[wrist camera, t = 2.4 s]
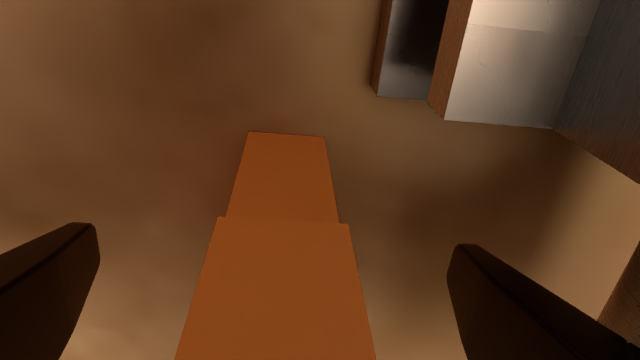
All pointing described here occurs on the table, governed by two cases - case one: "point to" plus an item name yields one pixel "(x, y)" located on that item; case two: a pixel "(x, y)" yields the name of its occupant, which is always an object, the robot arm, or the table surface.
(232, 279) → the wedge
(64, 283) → the robot arm
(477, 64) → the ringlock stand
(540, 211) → the table surface
